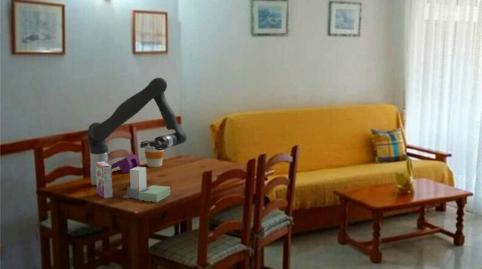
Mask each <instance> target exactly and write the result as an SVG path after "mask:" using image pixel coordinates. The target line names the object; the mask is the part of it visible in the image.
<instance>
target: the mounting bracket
mask: <svg viewBox="0 0 482 269" xmlns="http://www.w3.org/2000/svg"><path fill="white" fill-rule="evenodd" d="M140 164H141V163H140V160H139V157H138V155H137V154H133V155H130V156H129V155H128V156H126V157H123V158H122V159H120V160H118V161H116V162H114V163H112V164H110V165H111V168H112V169H116V168H118V167H119V169H120V171H121V172H122V173H125V174H127V173H130V169H133V168H135V167H141V166H140Z"/></svg>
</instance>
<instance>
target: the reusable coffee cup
mask: <svg viewBox="0 0 482 269" xmlns="http://www.w3.org/2000/svg"><path fill="white" fill-rule="evenodd" d="M153 140H154V139H153ZM153 140H149V141H153ZM150 146H151V145H150ZM144 155H145V159H146V163H147V164H146V165H147V167H149V168H158V167H162V165H163V159H164V155H165V149H164V150H156V149H155V148H148V147H144Z"/></svg>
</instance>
